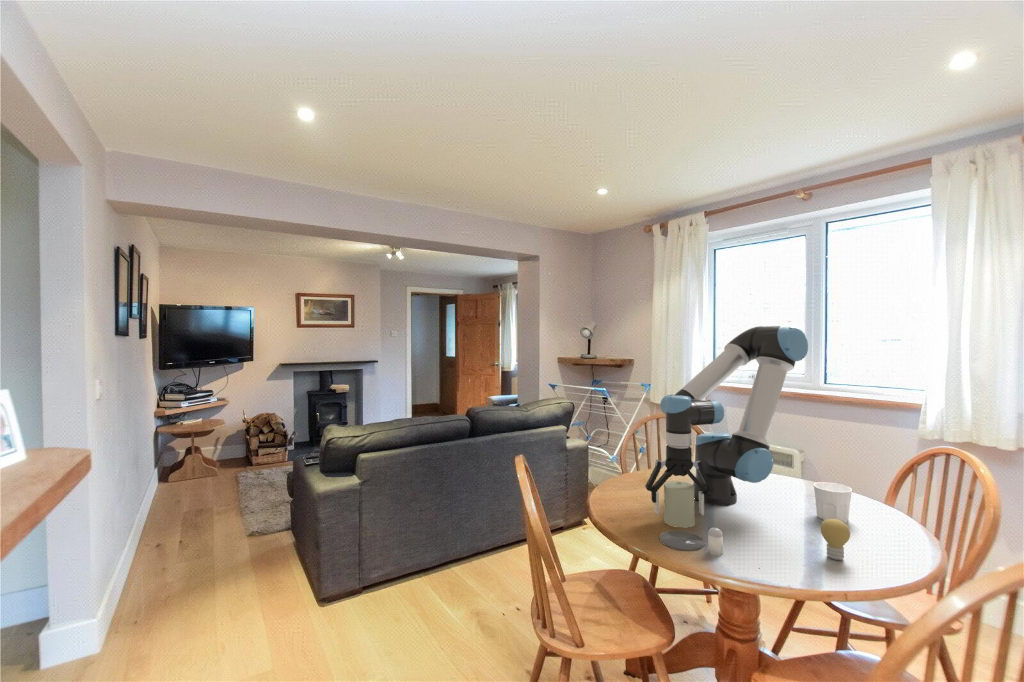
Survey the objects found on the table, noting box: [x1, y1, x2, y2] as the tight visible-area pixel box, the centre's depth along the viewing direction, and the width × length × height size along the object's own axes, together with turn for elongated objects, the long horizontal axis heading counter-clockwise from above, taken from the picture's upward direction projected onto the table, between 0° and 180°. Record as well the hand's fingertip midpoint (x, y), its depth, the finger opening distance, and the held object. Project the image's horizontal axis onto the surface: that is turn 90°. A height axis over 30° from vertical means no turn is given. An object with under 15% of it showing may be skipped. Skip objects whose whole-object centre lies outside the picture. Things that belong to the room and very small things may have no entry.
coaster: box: [659, 530, 705, 552], centre depth 135 cm, size 12×12×1 cm
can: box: [663, 480, 696, 529], centre depth 149 cm, size 9×9×12 cm
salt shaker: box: [707, 527, 724, 557], centre depth 127 cm, size 4×4×7 cm
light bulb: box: [820, 519, 851, 561], centre depth 124 cm, size 6×6×10 cm
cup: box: [813, 481, 853, 524], centre depth 150 cm, size 10×10×10 cm
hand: (679, 513), depth 149 cm, fingers open, 13 cm apart
